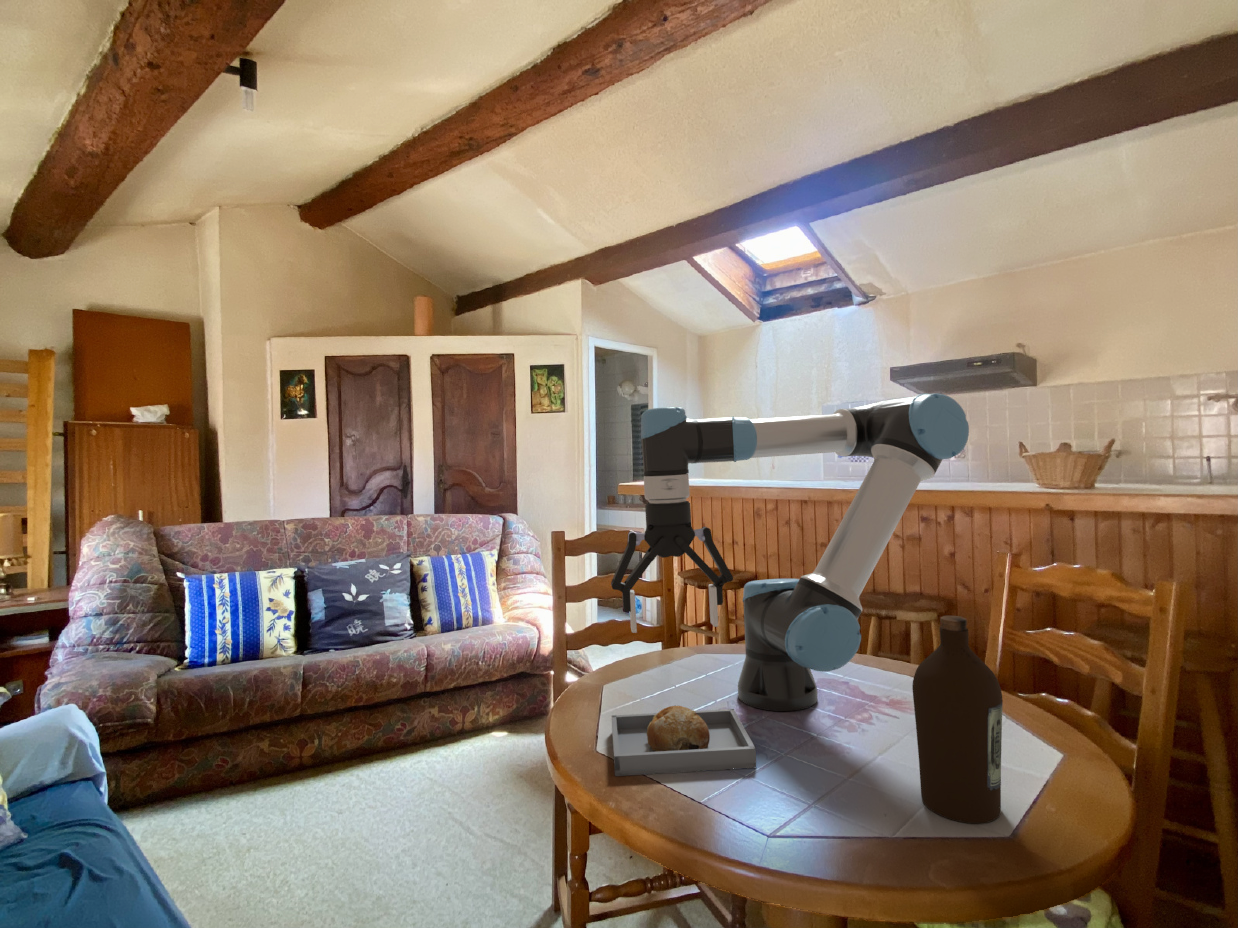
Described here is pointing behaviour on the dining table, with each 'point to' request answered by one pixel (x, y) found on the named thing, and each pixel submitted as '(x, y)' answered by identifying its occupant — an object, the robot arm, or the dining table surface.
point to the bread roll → (677, 730)
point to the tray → (722, 752)
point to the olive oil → (958, 729)
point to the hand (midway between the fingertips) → (674, 627)
